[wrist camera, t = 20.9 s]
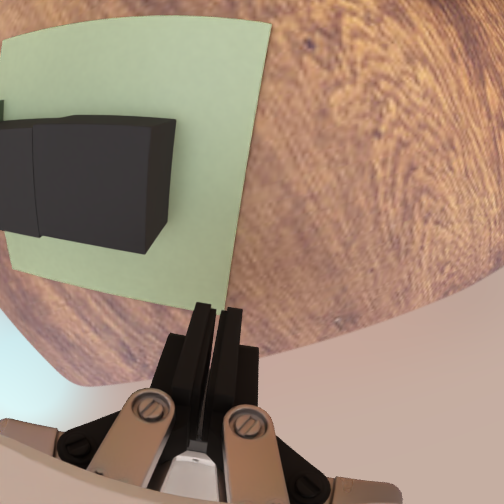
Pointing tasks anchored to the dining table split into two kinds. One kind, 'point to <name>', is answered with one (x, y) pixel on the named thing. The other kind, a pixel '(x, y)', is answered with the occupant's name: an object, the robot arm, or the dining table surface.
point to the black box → (103, 179)
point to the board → (149, 105)
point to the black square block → (18, 177)
